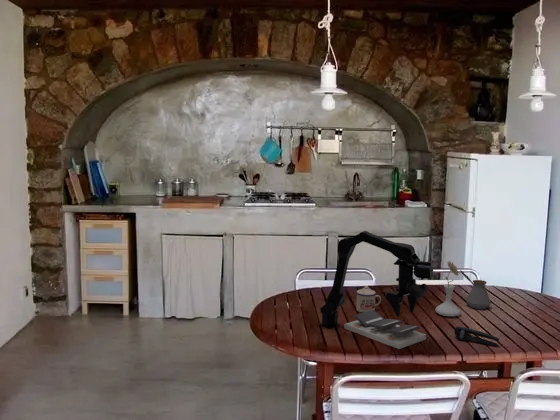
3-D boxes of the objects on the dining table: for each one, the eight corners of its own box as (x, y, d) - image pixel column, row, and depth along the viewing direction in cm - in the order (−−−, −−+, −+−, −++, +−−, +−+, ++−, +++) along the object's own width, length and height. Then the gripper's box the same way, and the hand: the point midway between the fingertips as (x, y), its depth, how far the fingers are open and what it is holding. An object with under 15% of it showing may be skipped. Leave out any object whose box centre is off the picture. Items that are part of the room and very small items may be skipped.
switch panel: (398, 349, 210) (399, 340, 210) (344, 328, 232) (344, 320, 232) (425, 339, 221) (426, 331, 221) (371, 320, 244) (371, 313, 243)
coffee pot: (495, 309, 263) (497, 279, 261) (475, 311, 260) (478, 280, 258) (467, 297, 283) (469, 269, 281) (448, 298, 280) (450, 270, 278)
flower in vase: (461, 319, 247) (465, 265, 244) (435, 317, 249) (439, 264, 246) (458, 310, 260) (461, 259, 257) (433, 309, 262) (436, 258, 259)
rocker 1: (365, 326, 228) (366, 324, 227) (354, 317, 232) (354, 314, 232) (384, 320, 235) (384, 318, 235) (372, 311, 240) (373, 309, 240)
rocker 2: (383, 328, 220) (382, 326, 220) (369, 326, 226) (369, 324, 226) (401, 323, 228) (401, 320, 228) (388, 320, 233) (388, 318, 233)
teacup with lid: (359, 313, 252) (360, 289, 251) (353, 307, 261) (354, 284, 260) (383, 313, 254) (384, 288, 253) (377, 307, 263) (378, 283, 262)
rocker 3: (400, 335, 214) (400, 332, 214) (387, 333, 219) (386, 330, 219) (419, 328, 221) (419, 326, 221) (405, 326, 227) (405, 324, 227)
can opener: (451, 340, 222) (452, 326, 221) (456, 335, 228) (457, 322, 227) (496, 350, 212) (497, 336, 211) (500, 344, 218) (501, 331, 217)
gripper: (408, 284, 205) (407, 323, 207) (436, 276, 217) (435, 314, 219) (384, 278, 214) (384, 317, 216) (413, 271, 226) (412, 307, 228)
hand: (404, 314), depth 219 cm, fingers open, 9 cm apart
